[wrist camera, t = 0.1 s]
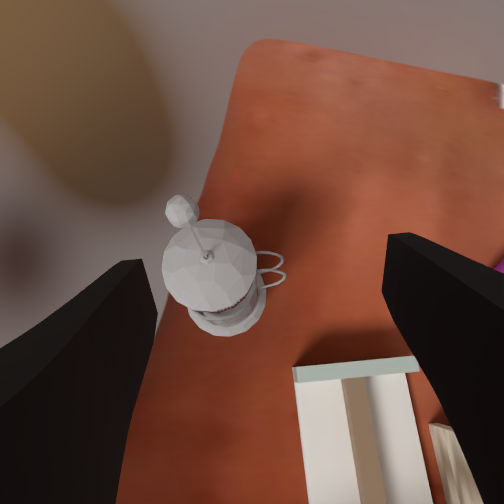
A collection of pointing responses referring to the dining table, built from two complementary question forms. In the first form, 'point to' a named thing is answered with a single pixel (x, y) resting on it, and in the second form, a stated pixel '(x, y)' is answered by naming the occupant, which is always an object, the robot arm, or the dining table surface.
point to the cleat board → (337, 447)
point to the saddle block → (453, 467)
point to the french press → (214, 270)
